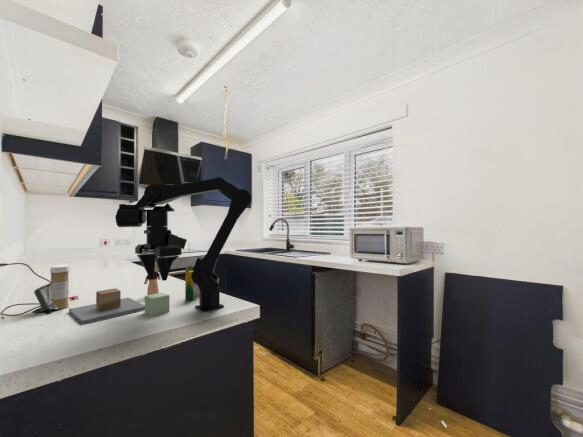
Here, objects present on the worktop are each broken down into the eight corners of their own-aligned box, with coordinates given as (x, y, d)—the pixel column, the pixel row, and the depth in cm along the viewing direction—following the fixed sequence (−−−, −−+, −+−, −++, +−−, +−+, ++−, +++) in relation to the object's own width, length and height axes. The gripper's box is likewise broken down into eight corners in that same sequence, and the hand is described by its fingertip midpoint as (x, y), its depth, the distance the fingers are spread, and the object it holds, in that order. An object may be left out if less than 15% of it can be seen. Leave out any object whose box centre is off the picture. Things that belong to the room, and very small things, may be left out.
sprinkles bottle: (54, 306, 86) (54, 265, 86) (71, 305, 87) (71, 264, 88) (46, 311, 82) (47, 267, 82) (64, 309, 83) (65, 266, 83)
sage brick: (169, 311, 80) (169, 295, 80) (151, 316, 76) (152, 298, 76) (161, 308, 83) (161, 292, 83) (144, 312, 79) (144, 295, 79)
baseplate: (146, 309, 82) (146, 306, 82) (82, 324, 70) (82, 320, 70) (128, 300, 92) (128, 297, 92) (68, 312, 80) (68, 309, 80)
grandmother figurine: (152, 299, 94) (152, 263, 94) (142, 299, 94) (142, 263, 94) (163, 293, 101) (163, 260, 102) (153, 293, 102) (153, 260, 102)
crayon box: (193, 300, 91) (193, 266, 91) (184, 300, 91) (184, 266, 91) (201, 295, 98) (201, 263, 99) (193, 295, 98) (193, 263, 99)
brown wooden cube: (120, 307, 81) (120, 290, 81) (100, 311, 77) (101, 293, 78) (115, 304, 84) (115, 288, 85) (96, 307, 81) (96, 291, 81)
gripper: (198, 225, 80) (198, 277, 80) (169, 226, 92) (169, 271, 92) (160, 226, 72) (160, 284, 71) (134, 227, 84) (134, 276, 83)
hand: (157, 278), depth 80 cm, fingers open, 9 cm apart
